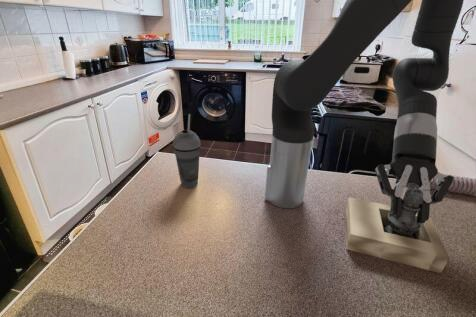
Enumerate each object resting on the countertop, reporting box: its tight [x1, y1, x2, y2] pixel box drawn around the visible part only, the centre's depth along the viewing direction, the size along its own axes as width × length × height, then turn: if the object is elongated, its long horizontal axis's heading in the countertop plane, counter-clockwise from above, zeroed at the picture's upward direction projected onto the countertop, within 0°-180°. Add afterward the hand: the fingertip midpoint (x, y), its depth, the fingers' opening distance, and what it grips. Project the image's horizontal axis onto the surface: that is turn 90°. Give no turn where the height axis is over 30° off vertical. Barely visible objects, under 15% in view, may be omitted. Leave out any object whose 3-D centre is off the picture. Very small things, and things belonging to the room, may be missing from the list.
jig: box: [344, 197, 450, 274], centre depth 54 cm, size 16×13×4 cm
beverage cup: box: [172, 113, 202, 189], centre depth 68 cm, size 7×7×20 cm
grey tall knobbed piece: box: [384, 185, 423, 239], centre depth 52 cm, size 6×6×12 cm
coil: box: [429, 173, 476, 197], centre depth 72 cm, size 5×5×18 cm
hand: (408, 219), depth 50 cm, fingers closed on grey tall knobbed piece, 3 cm apart
